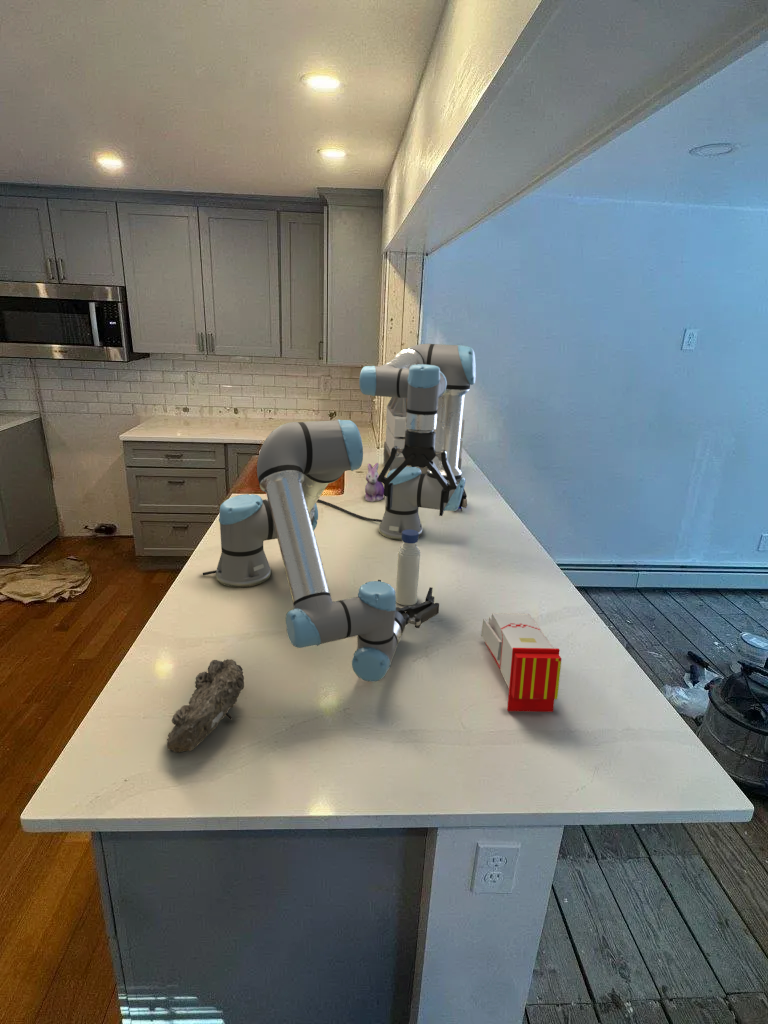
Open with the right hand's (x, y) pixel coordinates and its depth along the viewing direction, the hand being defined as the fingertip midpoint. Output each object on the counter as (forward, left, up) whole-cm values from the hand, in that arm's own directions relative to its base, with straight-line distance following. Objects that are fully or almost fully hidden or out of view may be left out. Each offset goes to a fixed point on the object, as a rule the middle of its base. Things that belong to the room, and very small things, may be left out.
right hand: (415, 511), depth 146 cm
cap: (0, -1, -6) cm, 6 cm away
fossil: (+11, -62, -26) cm, 68 cm away
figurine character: (-45, +68, -26) cm, 86 cm away
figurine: (-72, +47, -26) cm, 90 cm away
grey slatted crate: (-90, +91, -26) cm, 130 cm away
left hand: (+3, -5, -19) cm, 20 cm away
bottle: (0, -1, -26) cm, 26 cm away
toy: (+38, -4, -26) cm, 46 cm away
